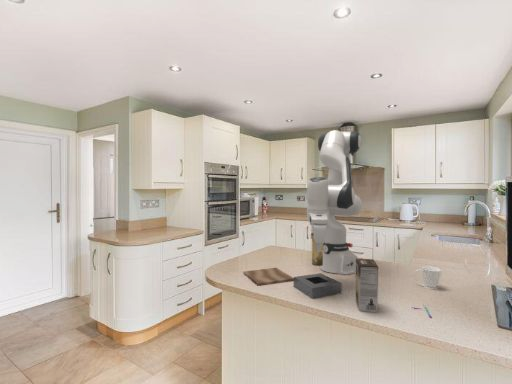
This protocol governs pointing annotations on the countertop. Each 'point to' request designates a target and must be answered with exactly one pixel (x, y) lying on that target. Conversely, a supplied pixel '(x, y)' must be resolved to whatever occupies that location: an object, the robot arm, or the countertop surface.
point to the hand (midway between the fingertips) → (317, 249)
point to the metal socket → (317, 285)
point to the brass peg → (316, 254)
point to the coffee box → (366, 285)
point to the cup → (430, 276)
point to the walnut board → (268, 276)
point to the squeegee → (426, 310)
